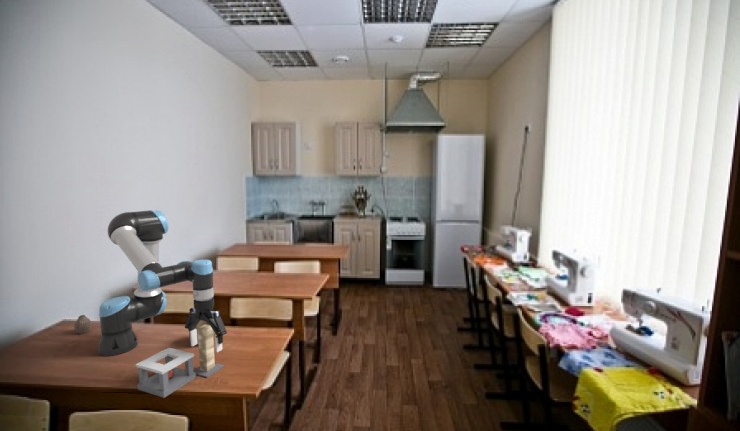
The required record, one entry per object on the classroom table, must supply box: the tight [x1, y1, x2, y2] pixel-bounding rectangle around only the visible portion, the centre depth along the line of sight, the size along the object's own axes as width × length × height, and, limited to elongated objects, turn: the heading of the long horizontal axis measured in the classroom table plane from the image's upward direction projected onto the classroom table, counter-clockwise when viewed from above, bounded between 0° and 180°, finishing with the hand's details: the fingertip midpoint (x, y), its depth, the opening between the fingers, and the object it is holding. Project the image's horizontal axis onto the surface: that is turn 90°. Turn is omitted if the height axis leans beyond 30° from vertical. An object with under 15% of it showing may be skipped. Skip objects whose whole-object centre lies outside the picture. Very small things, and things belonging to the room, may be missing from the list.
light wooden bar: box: [197, 324, 216, 372], centre depth 145 cm, size 4×4×18 cm
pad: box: [193, 362, 225, 379], centre depth 146 cm, size 9×9×1 cm
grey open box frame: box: [135, 347, 197, 399], centre depth 136 cm, size 14×14×10 cm
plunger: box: [168, 369, 174, 380], centre depth 137 cm, size 4×4×5 cm
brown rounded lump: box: [73, 314, 92, 335], centre depth 182 cm, size 7×7×9 cm
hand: (206, 347), depth 145 cm, fingers open, 13 cm apart
